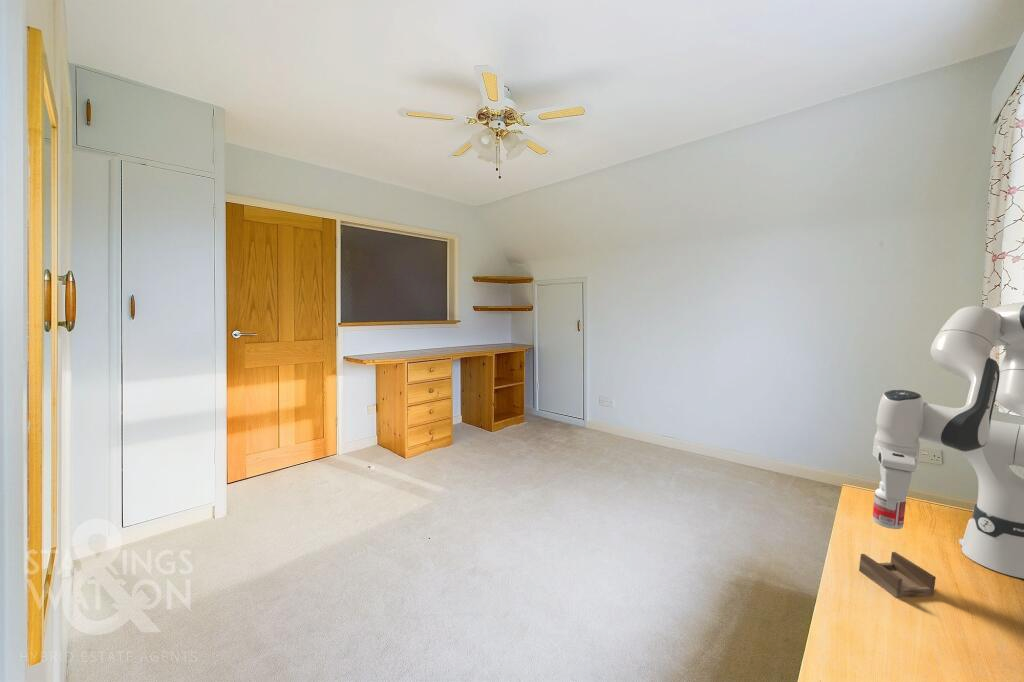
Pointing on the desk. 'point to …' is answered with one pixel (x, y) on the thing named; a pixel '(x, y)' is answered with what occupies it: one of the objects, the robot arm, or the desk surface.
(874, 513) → the pill bottle
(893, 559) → the cradle
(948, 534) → the desk surface
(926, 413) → the robot arm
